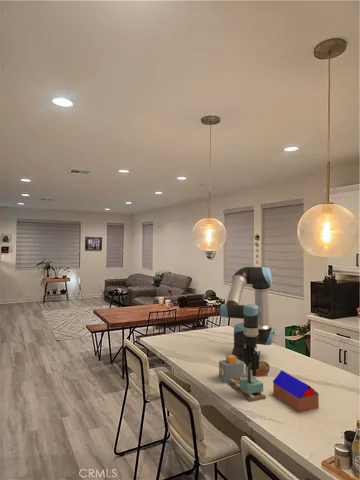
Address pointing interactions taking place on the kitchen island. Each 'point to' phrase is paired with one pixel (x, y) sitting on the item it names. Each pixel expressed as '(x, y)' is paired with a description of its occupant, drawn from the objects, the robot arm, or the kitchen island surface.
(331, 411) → the kitchen island surface
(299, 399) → the house
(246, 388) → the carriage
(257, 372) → the tin
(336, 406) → the kitchen island surface
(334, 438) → the kitchen island surface
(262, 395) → the rail bed
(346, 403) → the kitchen island surface
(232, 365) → the cabinet
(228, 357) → the button
